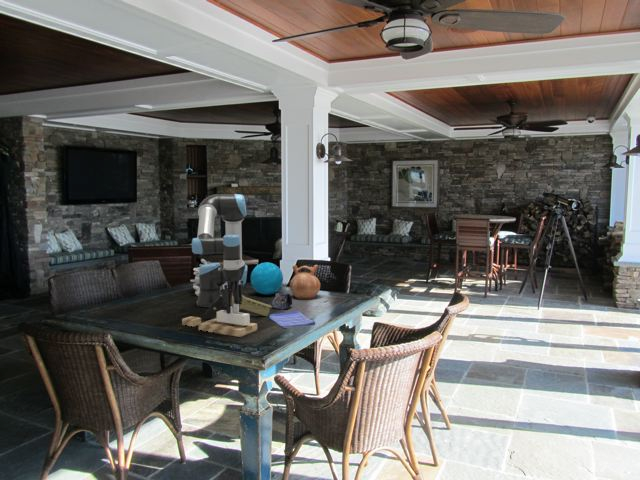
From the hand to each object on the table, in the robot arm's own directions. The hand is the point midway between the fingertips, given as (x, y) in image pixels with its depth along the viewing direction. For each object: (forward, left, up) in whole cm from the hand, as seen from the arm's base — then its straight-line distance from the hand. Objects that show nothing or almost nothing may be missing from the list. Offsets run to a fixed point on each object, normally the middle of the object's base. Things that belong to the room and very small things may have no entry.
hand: (233, 318), depth 244 cm
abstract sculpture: (-66, +67, -6) cm, 94 cm away
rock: (-6, +51, -6) cm, 52 cm away
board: (-3, 0, -6) cm, 6 cm away
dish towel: (+14, +28, -6) cm, 32 cm away
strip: (0, 0, -4) cm, 4 cm away
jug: (-9, +81, -6) cm, 82 cm away
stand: (-25, 0, -6) cm, 26 cm away
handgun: (-14, +22, -6) cm, 27 cm away
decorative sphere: (-34, +77, -6) cm, 85 cm away
